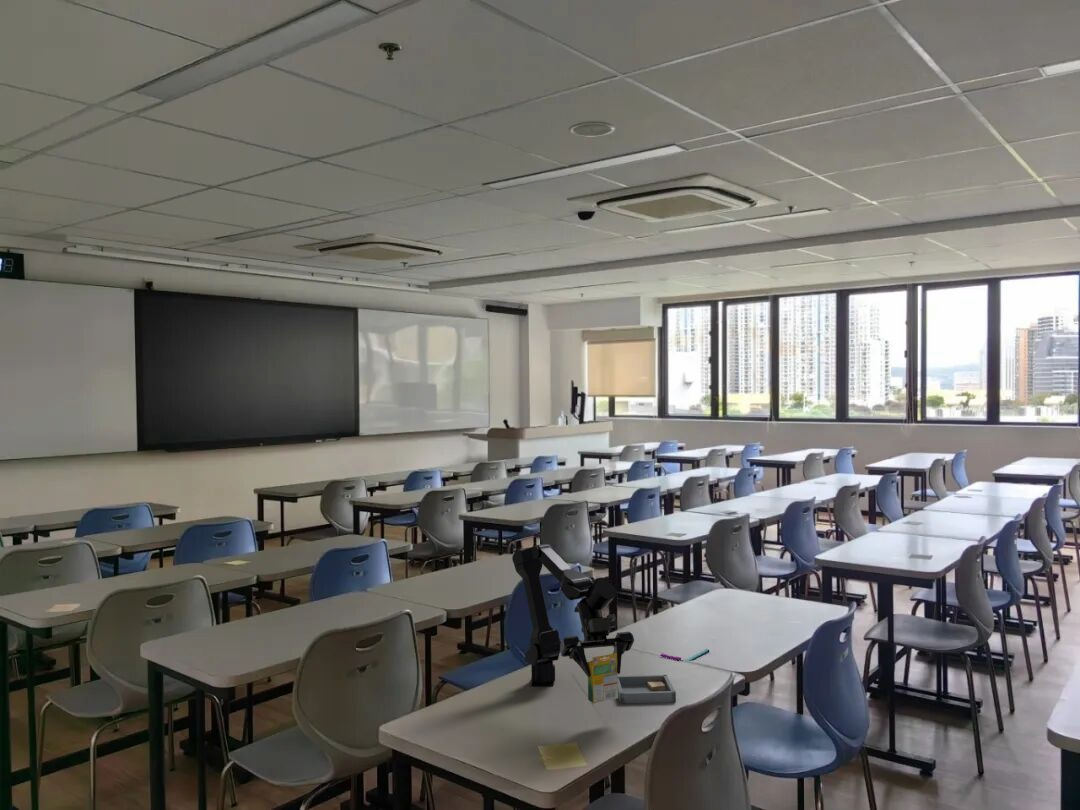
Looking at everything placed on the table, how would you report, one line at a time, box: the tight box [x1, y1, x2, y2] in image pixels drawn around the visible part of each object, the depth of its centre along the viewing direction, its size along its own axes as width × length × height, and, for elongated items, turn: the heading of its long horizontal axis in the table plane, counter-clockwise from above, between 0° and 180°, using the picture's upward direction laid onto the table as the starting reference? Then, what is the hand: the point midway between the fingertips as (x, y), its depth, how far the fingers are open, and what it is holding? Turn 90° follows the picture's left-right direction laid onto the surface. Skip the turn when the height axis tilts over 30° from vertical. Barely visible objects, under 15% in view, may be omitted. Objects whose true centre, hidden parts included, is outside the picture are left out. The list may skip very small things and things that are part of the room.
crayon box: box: [587, 653, 619, 704], centre depth 202 cm, size 7×3×12 cm, turn 115°
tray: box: [617, 674, 677, 704], centre depth 220 cm, size 15×14×3 cm
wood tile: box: [647, 681, 666, 691], centre depth 223 cm, size 4×4×1 cm
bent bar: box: [659, 648, 710, 662], centre depth 249 cm, size 29×2×10 cm
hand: (604, 674), depth 200 cm, fingers closed on crayon box, 7 cm apart
